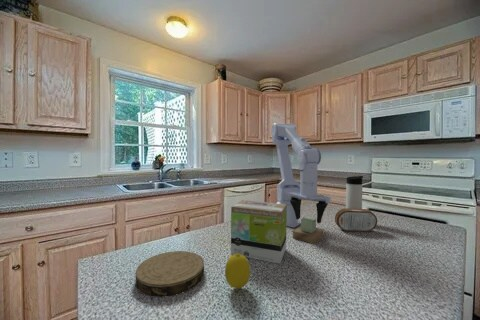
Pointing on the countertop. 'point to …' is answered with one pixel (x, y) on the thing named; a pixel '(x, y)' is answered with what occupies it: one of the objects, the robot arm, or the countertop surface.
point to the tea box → (259, 230)
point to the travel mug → (354, 192)
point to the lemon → (237, 271)
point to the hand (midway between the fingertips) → (308, 220)
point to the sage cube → (308, 224)
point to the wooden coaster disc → (169, 273)
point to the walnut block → (308, 235)
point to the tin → (356, 220)
